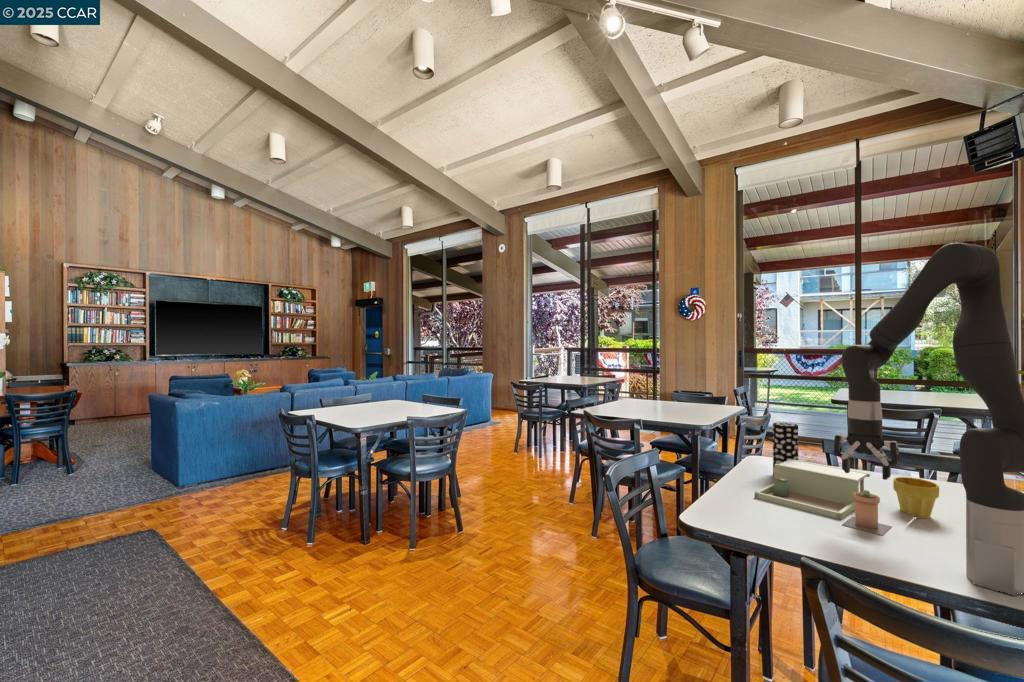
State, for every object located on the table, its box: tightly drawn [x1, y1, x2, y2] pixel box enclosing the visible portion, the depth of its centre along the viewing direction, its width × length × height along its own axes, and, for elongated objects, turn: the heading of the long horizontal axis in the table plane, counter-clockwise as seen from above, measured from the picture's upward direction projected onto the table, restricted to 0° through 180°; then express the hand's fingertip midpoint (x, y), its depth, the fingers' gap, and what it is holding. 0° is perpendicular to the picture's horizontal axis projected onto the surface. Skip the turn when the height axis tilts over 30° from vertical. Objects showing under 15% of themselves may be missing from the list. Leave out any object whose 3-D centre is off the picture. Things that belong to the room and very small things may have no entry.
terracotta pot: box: [853, 489, 881, 529], centre depth 127 cm, size 6×6×10 cm
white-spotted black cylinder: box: [772, 421, 799, 475], centre depth 176 cm, size 8×8×20 cm
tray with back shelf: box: [754, 459, 871, 520], centre depth 150 cm, size 28×24×9 cm
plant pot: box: [892, 476, 940, 519], centre depth 137 cm, size 10×10×10 cm
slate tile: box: [841, 516, 893, 537], centre depth 127 cm, size 9×9×1 cm
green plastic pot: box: [773, 477, 789, 497], centre depth 153 cm, size 4×4×5 cm
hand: (865, 475), depth 127 cm, fingers open, 8 cm apart
